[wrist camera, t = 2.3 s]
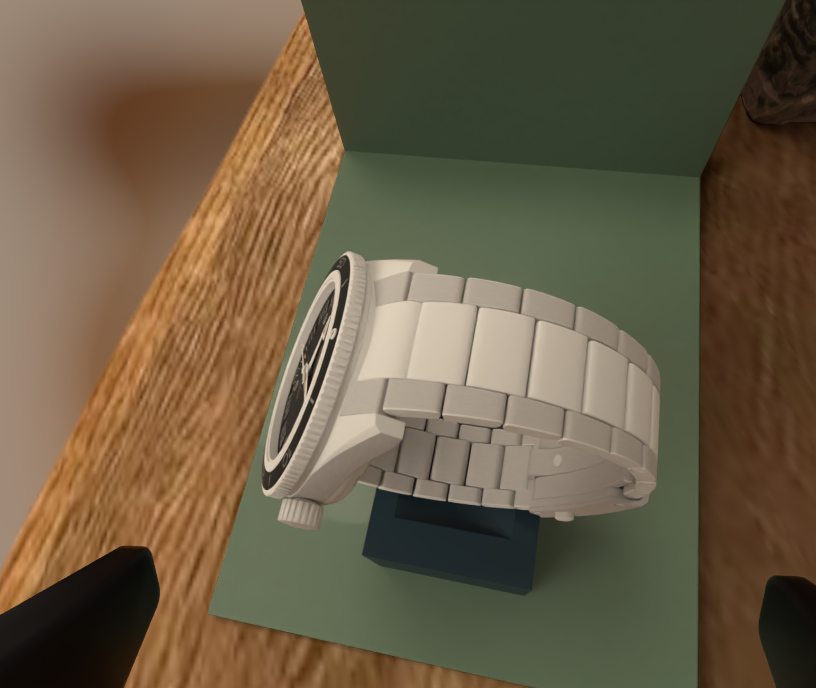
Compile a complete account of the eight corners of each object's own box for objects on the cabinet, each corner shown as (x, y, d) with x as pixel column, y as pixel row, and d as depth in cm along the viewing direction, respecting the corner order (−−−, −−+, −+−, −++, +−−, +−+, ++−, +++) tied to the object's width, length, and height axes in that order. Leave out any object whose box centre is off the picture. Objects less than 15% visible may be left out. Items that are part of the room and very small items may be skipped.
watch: (359, 387, 21) (248, 174, 11) (601, 424, 20) (721, 217, 10) (318, 556, 19) (133, 477, 9) (586, 612, 17) (722, 593, 7)
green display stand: (693, 722, 16) (859, 799, 9) (212, 614, 19) (44, 606, 12) (697, 144, 24) (788, -62, 17) (356, 121, 27) (310, -66, 20)
